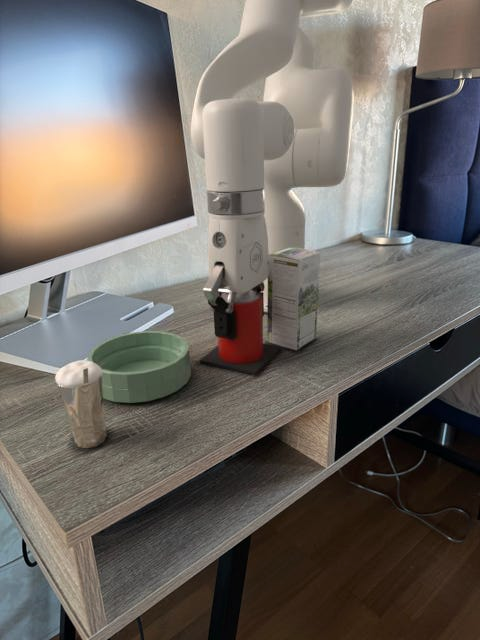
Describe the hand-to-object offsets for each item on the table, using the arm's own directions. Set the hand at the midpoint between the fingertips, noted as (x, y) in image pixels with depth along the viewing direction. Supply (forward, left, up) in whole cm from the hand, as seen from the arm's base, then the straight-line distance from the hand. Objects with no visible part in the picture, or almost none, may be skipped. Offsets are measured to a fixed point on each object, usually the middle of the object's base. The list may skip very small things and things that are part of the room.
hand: (240, 325), depth 65 cm
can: (0, 0, -4) cm, 4 cm away
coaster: (0, 0, -5) cm, 5 cm away
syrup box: (-8, +5, -5) cm, 11 cm away
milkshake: (+25, -5, -5) cm, 26 cm away
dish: (+12, -9, -5) cm, 16 cm away
